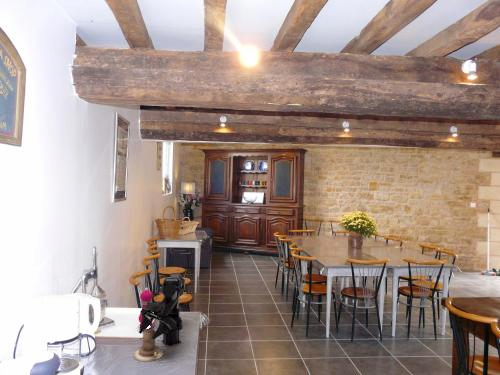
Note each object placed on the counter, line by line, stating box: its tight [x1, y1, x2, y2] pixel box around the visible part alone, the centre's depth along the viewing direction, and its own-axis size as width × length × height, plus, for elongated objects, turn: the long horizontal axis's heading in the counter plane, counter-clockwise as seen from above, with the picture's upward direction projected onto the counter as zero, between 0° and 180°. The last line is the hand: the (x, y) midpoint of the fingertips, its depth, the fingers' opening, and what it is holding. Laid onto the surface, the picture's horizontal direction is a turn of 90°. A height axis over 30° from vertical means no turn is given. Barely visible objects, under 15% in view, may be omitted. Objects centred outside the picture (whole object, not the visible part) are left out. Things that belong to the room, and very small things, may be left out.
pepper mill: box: [138, 287, 154, 329], centre depth 205 cm, size 7×7×20 cm
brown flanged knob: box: [138, 328, 160, 357], centre depth 173 cm, size 8×8×9 cm
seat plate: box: [133, 347, 164, 362], centre depth 173 cm, size 12×12×3 cm
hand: (146, 336), depth 172 cm, fingers open, 9 cm apart
